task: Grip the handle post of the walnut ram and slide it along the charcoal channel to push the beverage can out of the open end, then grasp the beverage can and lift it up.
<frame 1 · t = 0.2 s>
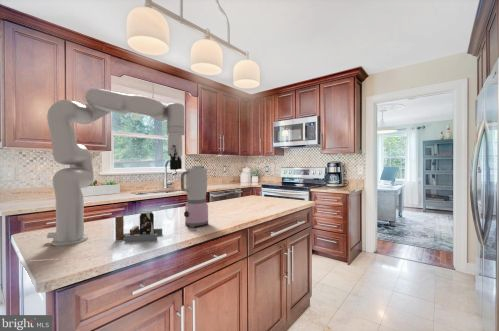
hand: (176, 169, 107), 31 cm above the countertop, fingers open, 9 cm apart
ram: (126, 227, 104), point 5 cm above the countertop, slide at 0.0 cm
channel: (144, 238, 105), on the countertop
beverage can: (146, 239, 106), on the countertop
blender: (194, 225, 128), on the countertop
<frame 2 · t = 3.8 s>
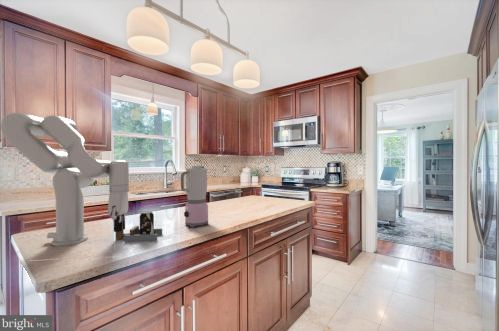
hand: (119, 230, 104), 4 cm above the countertop, fingers closed on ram, 2 cm apart
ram: (126, 227, 104), point 5 cm above the countertop, slide at 0.0 cm, touching gripper
everything else where it was.
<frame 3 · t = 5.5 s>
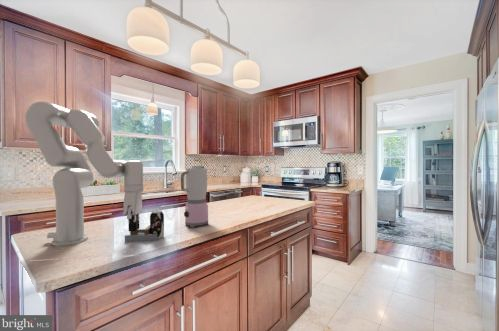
hand: (134, 229, 105), 4 cm above the countertop, fingers closed on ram, 2 cm apart
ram: (140, 226, 105), point 5 cm above the countertop, slide at 6.0 cm, touching beverage can, gripper
beverage can: (157, 238, 106), on the countertop, touching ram
everything else where it was.
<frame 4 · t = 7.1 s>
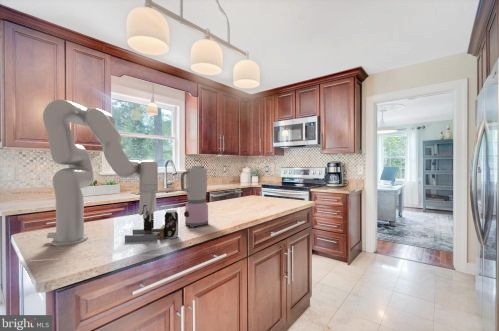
hand: (148, 229, 106), 4 cm above the countertop, fingers closed on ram, 2 cm apart
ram: (155, 226, 106), point 5 cm above the countertop, slide at 12.3 cm, touching beverage can, gripper
beverage can: (171, 237, 107), on the countertop, touching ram
everything else where it was.
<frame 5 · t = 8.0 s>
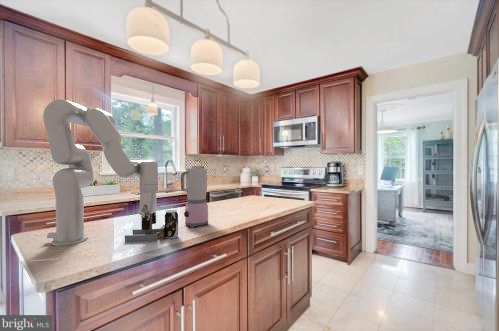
hand: (149, 226, 106), 5 cm above the countertop, fingers open, 9 cm apart
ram: (155, 226, 106), point 5 cm above the countertop, slide at 12.3 cm
beverage can: (171, 237, 107), on the countertop
everything else where it was.
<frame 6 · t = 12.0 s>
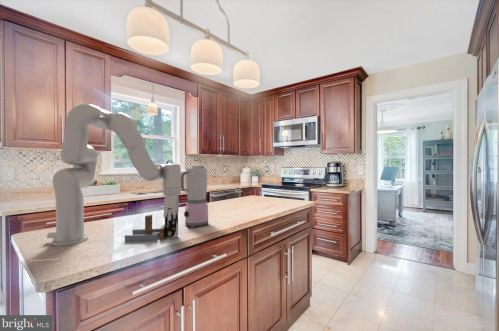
hand: (172, 231, 107), 3 cm above the countertop, fingers closed on beverage can, 3 cm apart
beverage can: (171, 237, 107), on the countertop, touching gripper
everything else where it was.
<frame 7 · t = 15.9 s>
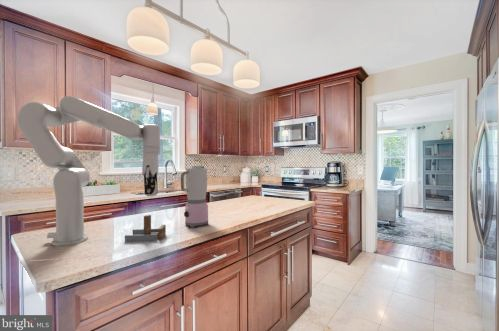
hand: (151, 189, 111), 21 cm above the countertop, fingers closed on beverage can, 3 cm apart
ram: (154, 226, 106), point 5 cm above the countertop, slide at 11.8 cm
beverage can: (151, 195, 111), point 18 cm above the countertop, touching gripper
everything else where it was.
at the end: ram slide at 11.8 cm; the gripper is holding beverage can; beverage can point 18.2 cm above the countertop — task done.
